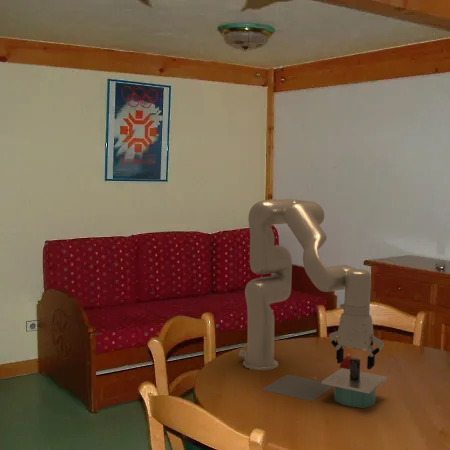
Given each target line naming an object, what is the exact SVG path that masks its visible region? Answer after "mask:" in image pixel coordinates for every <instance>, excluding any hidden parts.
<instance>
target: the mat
mask: <svg viewBox="0 0 450 450" xmlns="http://www.w3.org/2000/svg"><path fill="white" fill-rule="evenodd" d="M322 381H323V380H318V379H312V378H308V377H307V378H306V377H304V376H303V377H302V376H298V375H294V374H288V373H287V374H285V375H284V376H282V377H280V378H279V379H276V380H275V381H273V382H271V383H270V384H268V385H265V386H264V387H263V388H261V389H260V390H261V391H265V392H270V393H274V394H278V395H281V396H287V397H292V398H295V399H299V400H303V401H308V402H314V401H315V400H316V399H318V398H319V397H321V396H322V395H323V394H325V393H326V392H328V391H329V390H331V389H333V388H335V386H331V385H326V384H322Z"/></svg>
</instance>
